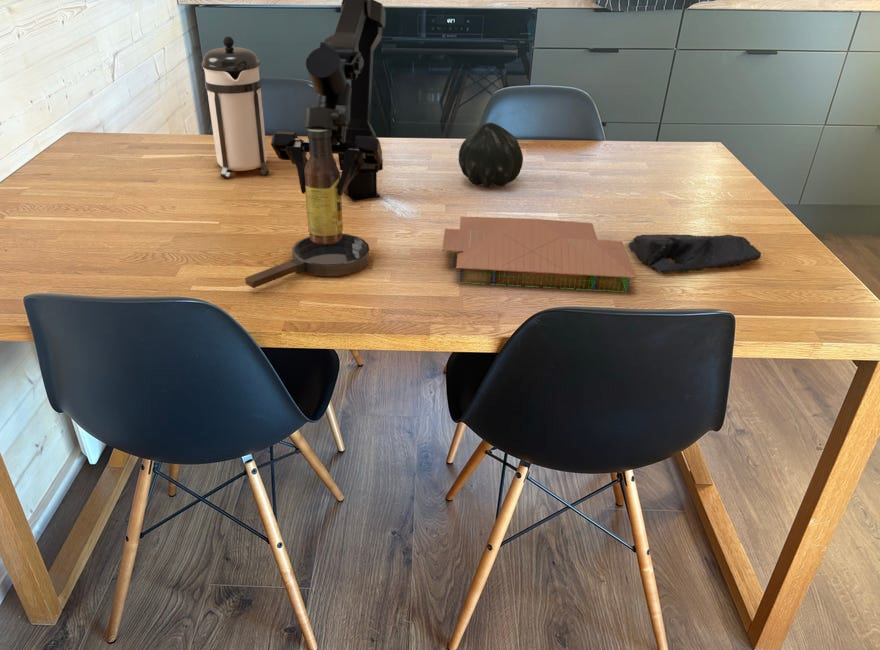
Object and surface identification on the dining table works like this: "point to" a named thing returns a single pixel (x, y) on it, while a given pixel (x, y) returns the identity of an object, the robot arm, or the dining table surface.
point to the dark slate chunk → (692, 251)
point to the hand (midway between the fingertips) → (321, 193)
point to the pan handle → (276, 273)
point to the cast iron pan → (333, 256)
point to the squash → (490, 156)
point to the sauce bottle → (322, 189)
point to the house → (536, 249)
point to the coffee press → (236, 108)
